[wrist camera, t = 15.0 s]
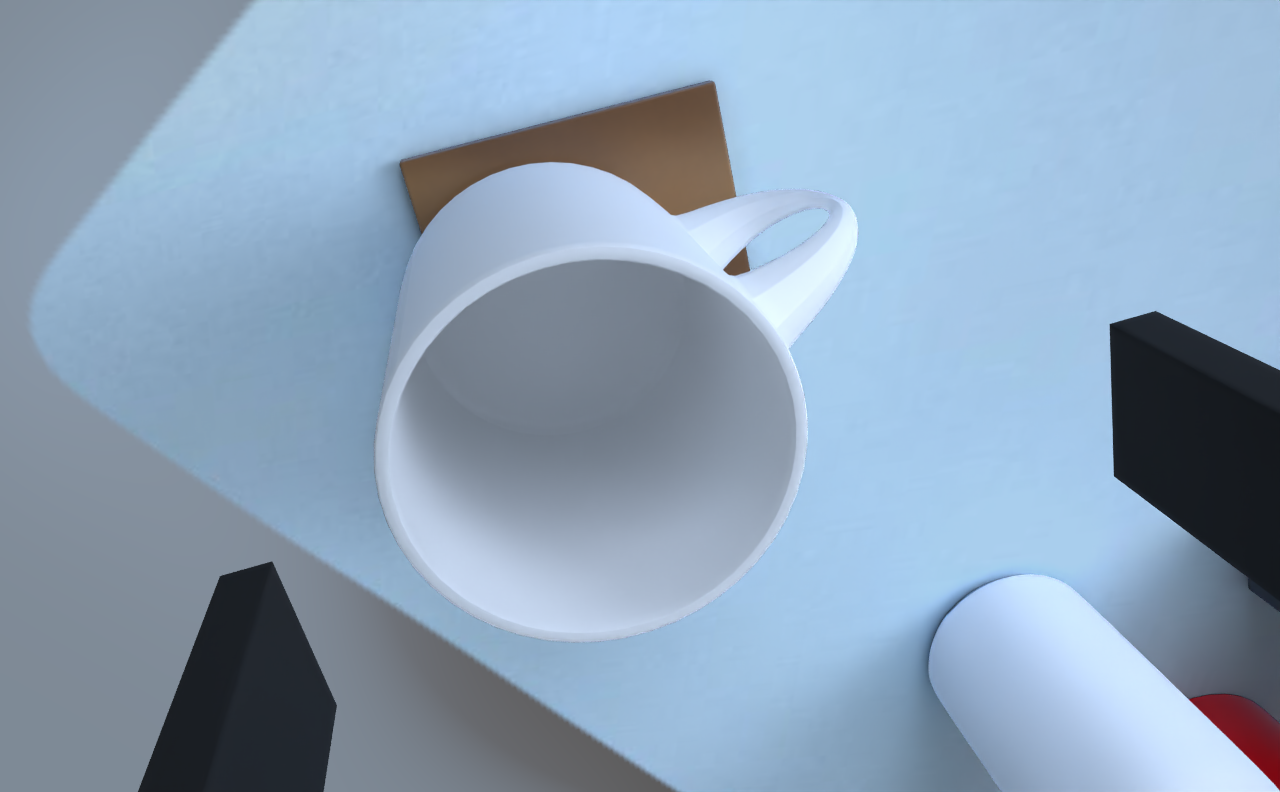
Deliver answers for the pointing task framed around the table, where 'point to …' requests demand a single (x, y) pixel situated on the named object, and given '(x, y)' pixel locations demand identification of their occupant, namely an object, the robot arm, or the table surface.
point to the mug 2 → (1246, 729)
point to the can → (1072, 700)
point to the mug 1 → (597, 398)
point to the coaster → (601, 154)
